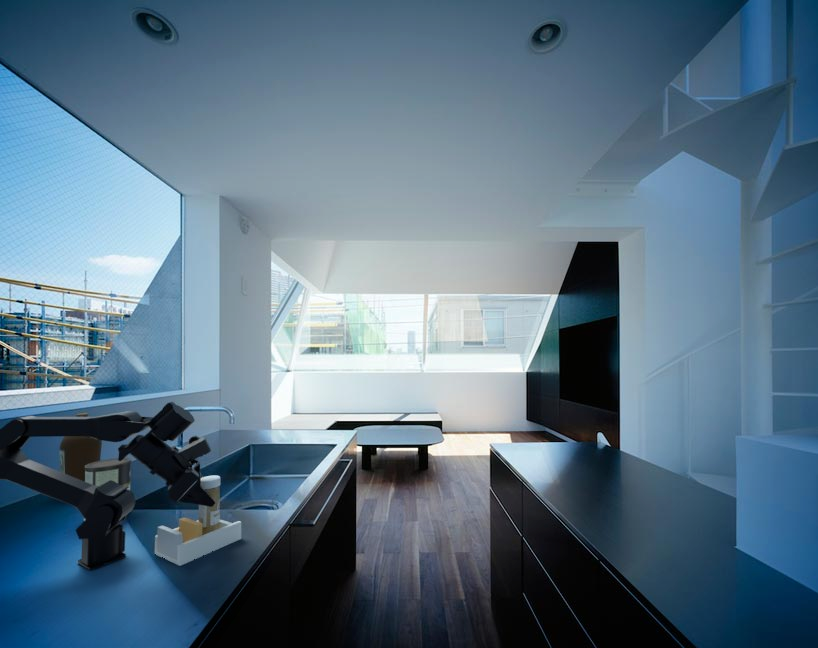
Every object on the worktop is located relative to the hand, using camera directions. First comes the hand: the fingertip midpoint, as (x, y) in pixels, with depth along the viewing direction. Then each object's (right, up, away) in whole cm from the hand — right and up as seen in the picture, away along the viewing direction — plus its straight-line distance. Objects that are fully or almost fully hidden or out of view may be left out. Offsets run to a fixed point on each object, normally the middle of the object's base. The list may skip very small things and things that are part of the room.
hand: (213, 498), depth 94 cm
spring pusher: (-3, -8, -5) cm, 10 cm away
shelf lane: (-2, -9, -3) cm, 10 cm away
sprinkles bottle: (0, -9, -1) cm, 9 cm away
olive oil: (-60, -14, +37) cm, 72 cm away
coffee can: (-37, -12, +17) cm, 42 cm away
